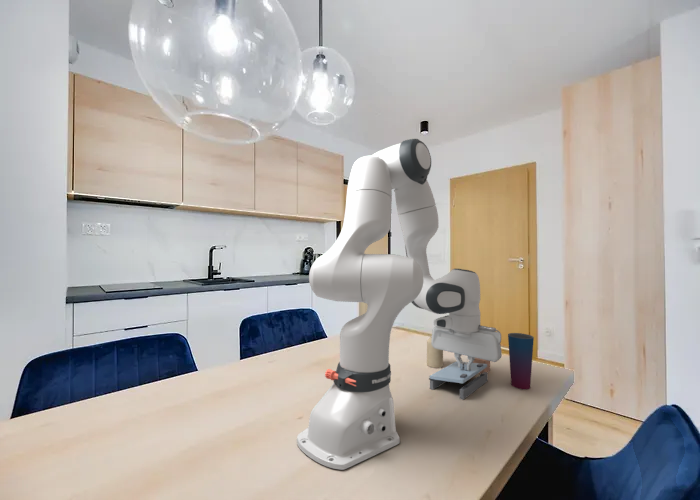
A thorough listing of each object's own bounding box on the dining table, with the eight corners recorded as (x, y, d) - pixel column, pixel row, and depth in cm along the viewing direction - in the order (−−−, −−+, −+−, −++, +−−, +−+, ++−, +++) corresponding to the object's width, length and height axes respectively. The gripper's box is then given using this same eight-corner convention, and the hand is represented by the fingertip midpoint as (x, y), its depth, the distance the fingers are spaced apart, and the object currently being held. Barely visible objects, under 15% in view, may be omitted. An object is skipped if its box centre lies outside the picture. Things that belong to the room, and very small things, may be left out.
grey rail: (463, 399, 85) (463, 389, 85) (429, 388, 92) (429, 379, 92) (487, 380, 99) (487, 371, 99) (456, 372, 105) (456, 363, 105)
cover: (463, 384, 86) (462, 378, 86) (429, 379, 92) (428, 374, 93) (487, 367, 99) (486, 362, 99) (456, 364, 106) (455, 359, 106)
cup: (508, 379, 100) (508, 331, 100) (533, 384, 96) (533, 334, 96) (507, 387, 94) (507, 336, 94) (533, 392, 90) (533, 339, 91)
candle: (441, 363, 114) (441, 335, 115) (444, 368, 109) (444, 339, 109) (425, 362, 115) (426, 334, 115) (428, 367, 109) (428, 338, 110)
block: (484, 374, 104) (484, 360, 104) (469, 370, 107) (469, 357, 107) (490, 370, 108) (490, 357, 108) (475, 367, 111) (475, 354, 111)
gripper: (504, 326, 90) (504, 375, 90) (438, 316, 104) (438, 358, 104) (497, 330, 86) (497, 382, 86) (428, 319, 99) (428, 363, 99)
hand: (464, 369), depth 95 cm, fingers closed
